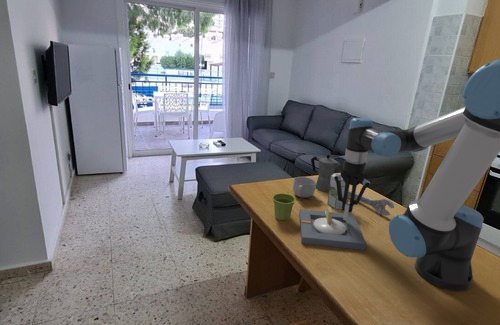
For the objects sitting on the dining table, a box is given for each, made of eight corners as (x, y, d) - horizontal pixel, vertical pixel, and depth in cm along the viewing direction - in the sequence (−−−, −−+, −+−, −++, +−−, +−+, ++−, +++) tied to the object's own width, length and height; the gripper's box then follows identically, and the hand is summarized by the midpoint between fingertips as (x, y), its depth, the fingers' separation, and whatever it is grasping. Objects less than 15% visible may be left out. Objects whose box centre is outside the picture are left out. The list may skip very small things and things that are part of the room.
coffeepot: (339, 188, 157) (344, 155, 152) (333, 194, 150) (338, 159, 144) (312, 181, 165) (315, 149, 160) (304, 186, 158) (308, 153, 152)
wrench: (342, 198, 153) (393, 219, 126) (340, 199, 152) (390, 220, 125) (343, 183, 151) (395, 201, 124) (341, 183, 150) (391, 201, 124)
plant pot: (298, 217, 125) (300, 198, 122) (284, 225, 118) (286, 205, 116) (280, 209, 131) (281, 191, 128) (266, 216, 124) (267, 197, 122)
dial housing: (365, 250, 105) (366, 243, 104) (301, 243, 107) (302, 236, 106) (352, 219, 125) (353, 213, 125) (299, 214, 128) (299, 208, 127)
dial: (348, 237, 109) (350, 223, 108) (314, 234, 111) (316, 220, 109) (342, 221, 121) (344, 207, 120) (312, 218, 123) (313, 205, 121)
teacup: (298, 189, 154) (300, 174, 151) (318, 195, 148) (320, 179, 145) (284, 197, 143) (286, 182, 140) (305, 204, 137) (307, 188, 135)
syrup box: (345, 207, 136) (350, 177, 132) (335, 209, 134) (339, 179, 129) (336, 202, 141) (340, 173, 137) (326, 204, 138) (330, 174, 134)
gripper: (375, 161, 110) (364, 218, 117) (339, 155, 115) (330, 210, 123) (373, 167, 104) (361, 227, 111) (334, 160, 109) (326, 218, 116)
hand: (345, 218), depth 117 cm, fingers closed
